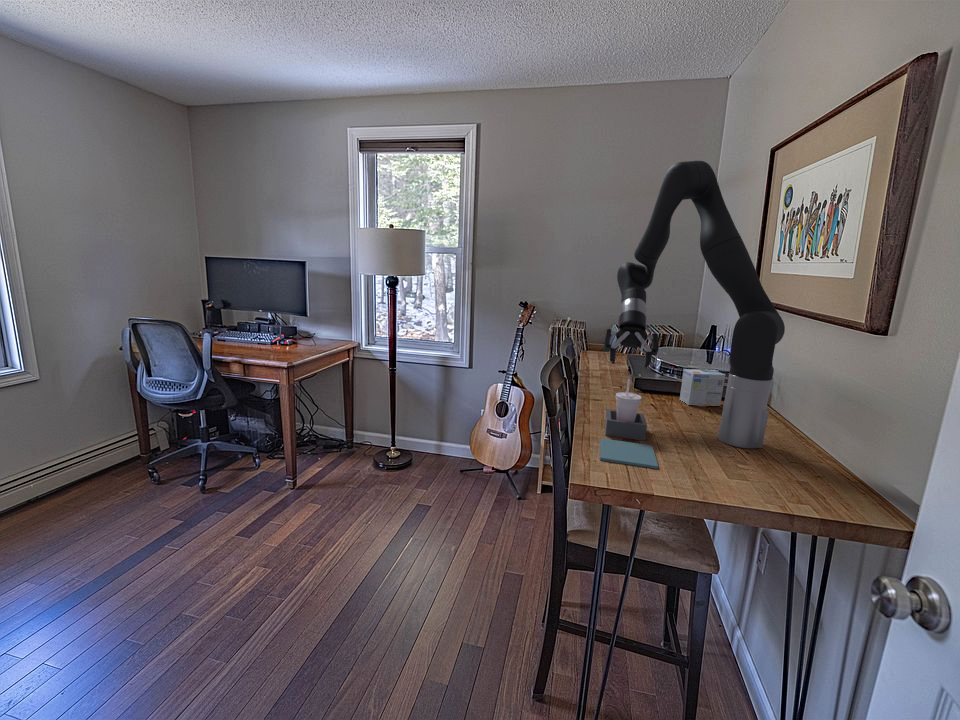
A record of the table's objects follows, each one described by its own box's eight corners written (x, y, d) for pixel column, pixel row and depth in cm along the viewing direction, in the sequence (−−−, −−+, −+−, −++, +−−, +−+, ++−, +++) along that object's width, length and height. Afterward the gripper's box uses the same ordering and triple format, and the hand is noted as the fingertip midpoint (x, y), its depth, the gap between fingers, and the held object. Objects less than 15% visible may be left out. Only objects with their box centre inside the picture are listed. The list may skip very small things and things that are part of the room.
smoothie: (606, 428, 122) (612, 376, 119) (625, 426, 125) (632, 375, 122) (622, 437, 117) (629, 383, 114) (642, 434, 119) (649, 381, 116)
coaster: (651, 447, 111) (652, 445, 111) (657, 468, 99) (658, 466, 99) (600, 440, 114) (600, 438, 113) (600, 460, 102) (600, 457, 102)
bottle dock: (641, 427, 124) (643, 413, 123) (644, 440, 115) (647, 425, 114) (604, 423, 126) (606, 408, 125) (605, 435, 117) (607, 420, 116)
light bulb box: (709, 401, 154) (714, 369, 152) (720, 407, 147) (726, 374, 145) (678, 400, 153) (683, 368, 151) (688, 406, 146) (693, 373, 144)
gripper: (608, 307, 133) (603, 353, 125) (661, 311, 130) (660, 359, 122) (606, 323, 139) (601, 368, 131) (656, 327, 136) (655, 374, 128)
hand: (629, 364), depth 126 cm, fingers open, 8 cm apart
